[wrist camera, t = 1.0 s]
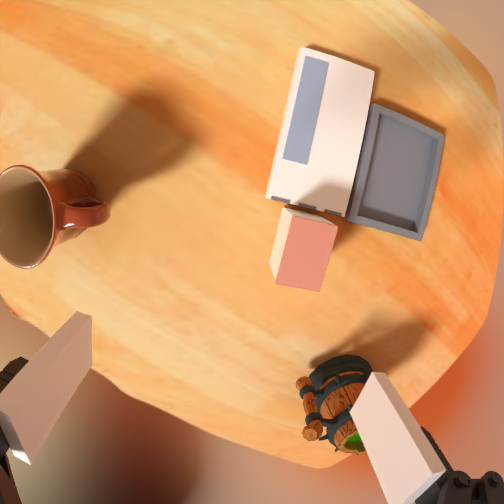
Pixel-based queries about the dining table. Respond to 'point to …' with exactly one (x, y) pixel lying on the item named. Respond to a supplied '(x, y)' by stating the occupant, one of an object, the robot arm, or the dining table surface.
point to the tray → (395, 174)
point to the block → (302, 249)
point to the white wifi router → (321, 133)
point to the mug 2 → (334, 401)
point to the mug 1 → (44, 212)
